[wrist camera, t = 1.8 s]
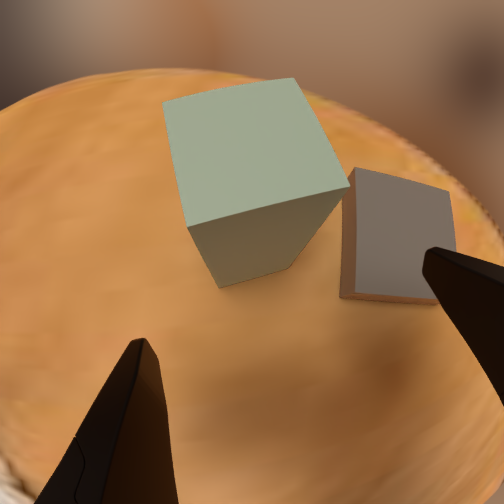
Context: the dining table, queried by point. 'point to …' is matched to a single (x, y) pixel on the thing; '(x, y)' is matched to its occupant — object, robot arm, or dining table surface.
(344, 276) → the slate plinth
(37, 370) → the dining table surface
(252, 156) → the sage green block
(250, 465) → the dining table surface
